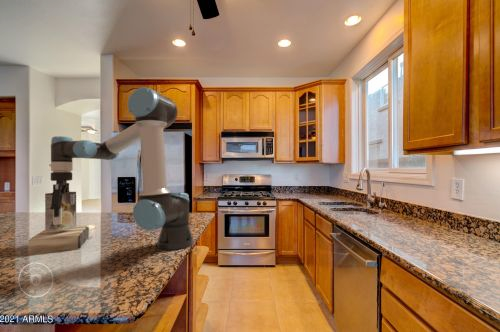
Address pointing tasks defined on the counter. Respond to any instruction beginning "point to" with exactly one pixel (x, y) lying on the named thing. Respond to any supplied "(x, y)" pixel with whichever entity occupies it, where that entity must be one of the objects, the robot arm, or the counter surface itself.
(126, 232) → the counter surface
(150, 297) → the counter surface
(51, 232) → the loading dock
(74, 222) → the coffee box
